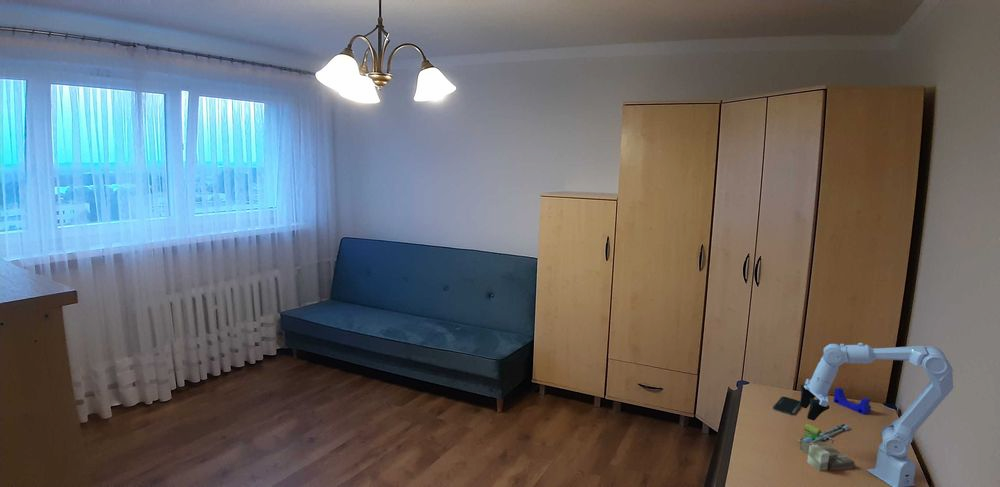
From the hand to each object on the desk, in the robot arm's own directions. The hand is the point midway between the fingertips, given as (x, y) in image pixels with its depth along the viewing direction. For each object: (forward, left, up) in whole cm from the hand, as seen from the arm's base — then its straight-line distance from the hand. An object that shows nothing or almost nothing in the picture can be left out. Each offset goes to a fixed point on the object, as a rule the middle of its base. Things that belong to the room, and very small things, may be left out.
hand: (806, 413), depth 177 cm
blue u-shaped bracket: (+26, -48, -15) cm, 57 cm away
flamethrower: (+9, -17, -15) cm, 25 cm away
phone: (+31, -22, -15) cm, 41 cm away
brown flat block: (-4, -6, -14) cm, 16 cm away
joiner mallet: (-8, -2, -15) cm, 17 cm away
